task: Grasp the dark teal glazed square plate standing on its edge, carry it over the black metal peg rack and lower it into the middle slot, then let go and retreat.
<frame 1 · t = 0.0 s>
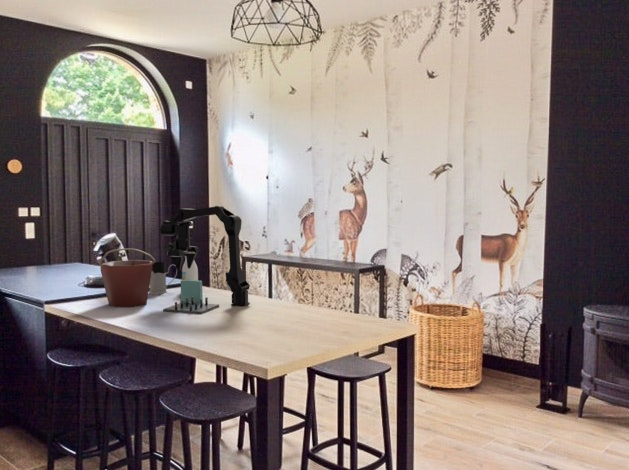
hand: (183, 269, 267), 15 cm above the counter, fingers open, 9 cm apart
teal plate: (191, 302, 265), on the counter
milk bottle: (190, 292, 292), on the counter
dish rack: (191, 309, 250), on the counter
bucket: (128, 303, 263), on the counter
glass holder: (163, 292, 292), on the counter
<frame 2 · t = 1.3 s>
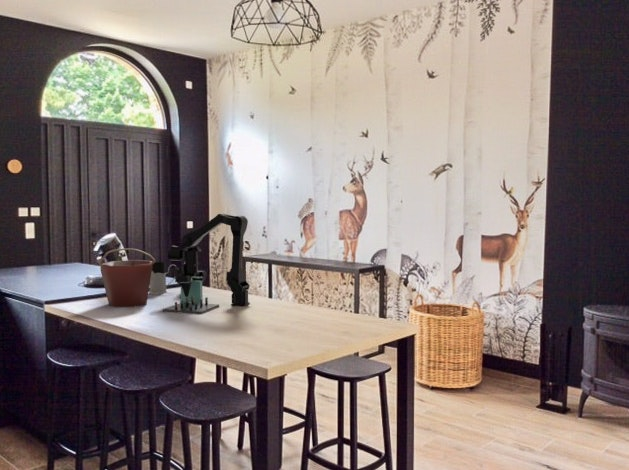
hand: (191, 295, 265), 3 cm above the counter, fingers open, 9 cm apart
nothing on the counter moved.
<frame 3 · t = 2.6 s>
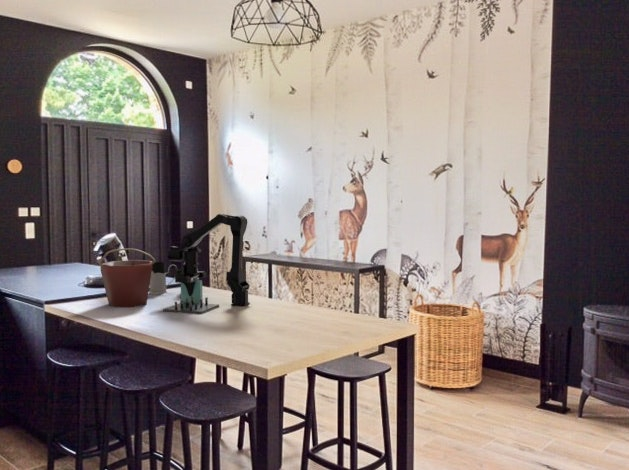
hand: (191, 295, 265), 3 cm above the counter, fingers closed on teal plate, 2 cm apart
teal plate: (191, 302, 265), on the counter, touching gripper
everything else where it was.
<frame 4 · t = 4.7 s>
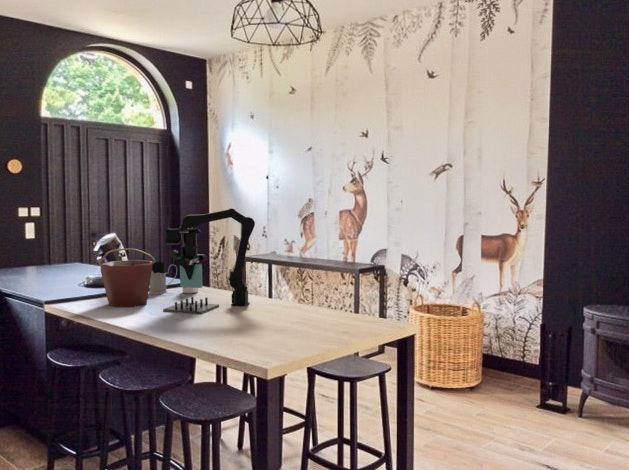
hand: (191, 279, 254), 12 cm above the counter, fingers closed on teal plate
teal plate: (191, 287, 254), point 9 cm above the counter, touching gripper
everything else where it was.
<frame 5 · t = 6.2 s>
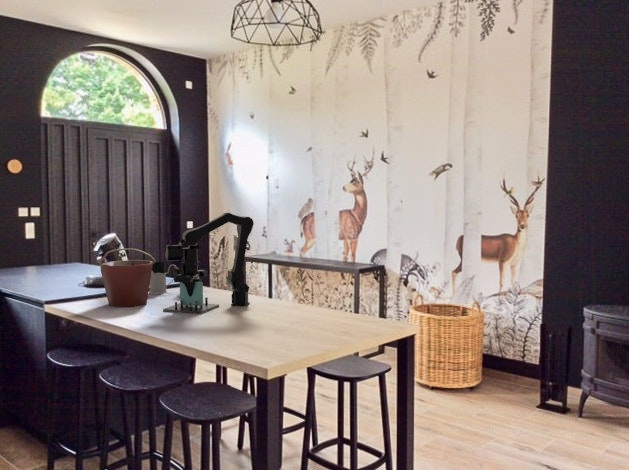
hand: (191, 295, 249), 6 cm above the counter, fingers closed on teal plate, 2 cm apart
teal plate: (191, 304, 250), point 2 cm above the counter, touching gripper
everything else where it was.
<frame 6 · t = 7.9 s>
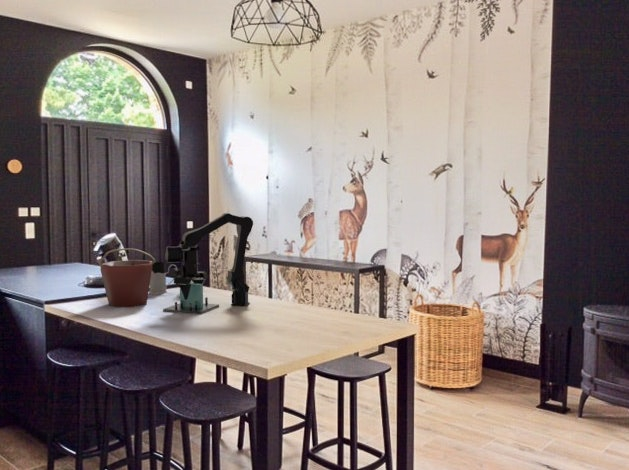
hand: (191, 297, 249), 5 cm above the counter, fingers open, 9 cm apart
teal plate: (191, 306, 250), point 1 cm above the counter, touching dish rack
everything else where it was.
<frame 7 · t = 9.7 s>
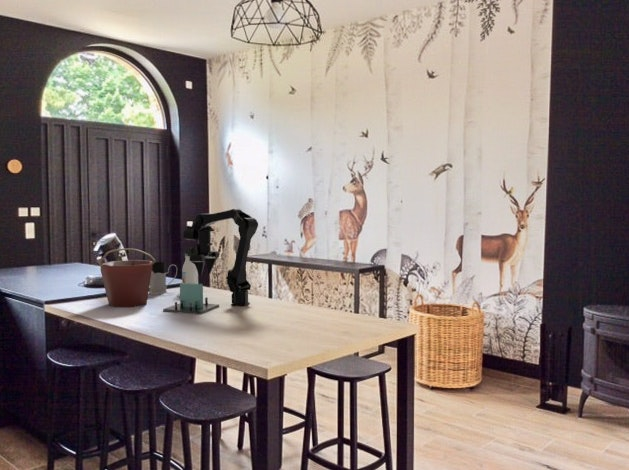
hand: (204, 274, 268), 12 cm above the counter, fingers open, 9 cm apart
nothing on the counter moved.
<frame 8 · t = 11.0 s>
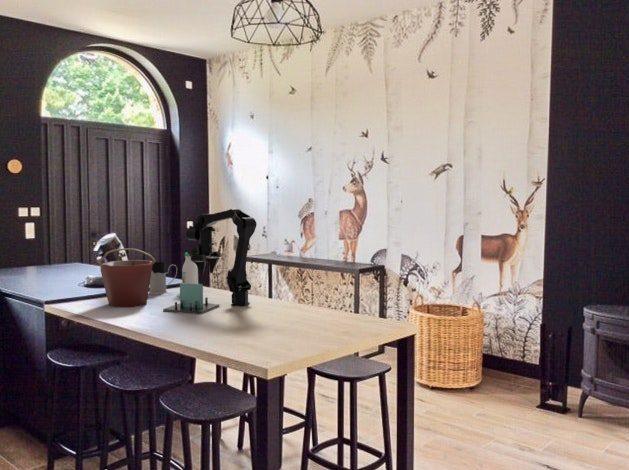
hand: (206, 274, 270), 12 cm above the counter, fingers open, 9 cm apart
nothing on the counter moved.
at the end: teal plate 0.1 cm from the target spot, point 1.0 cm above the counter; teal plate tilted 0°; the gripper is holding nothing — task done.
